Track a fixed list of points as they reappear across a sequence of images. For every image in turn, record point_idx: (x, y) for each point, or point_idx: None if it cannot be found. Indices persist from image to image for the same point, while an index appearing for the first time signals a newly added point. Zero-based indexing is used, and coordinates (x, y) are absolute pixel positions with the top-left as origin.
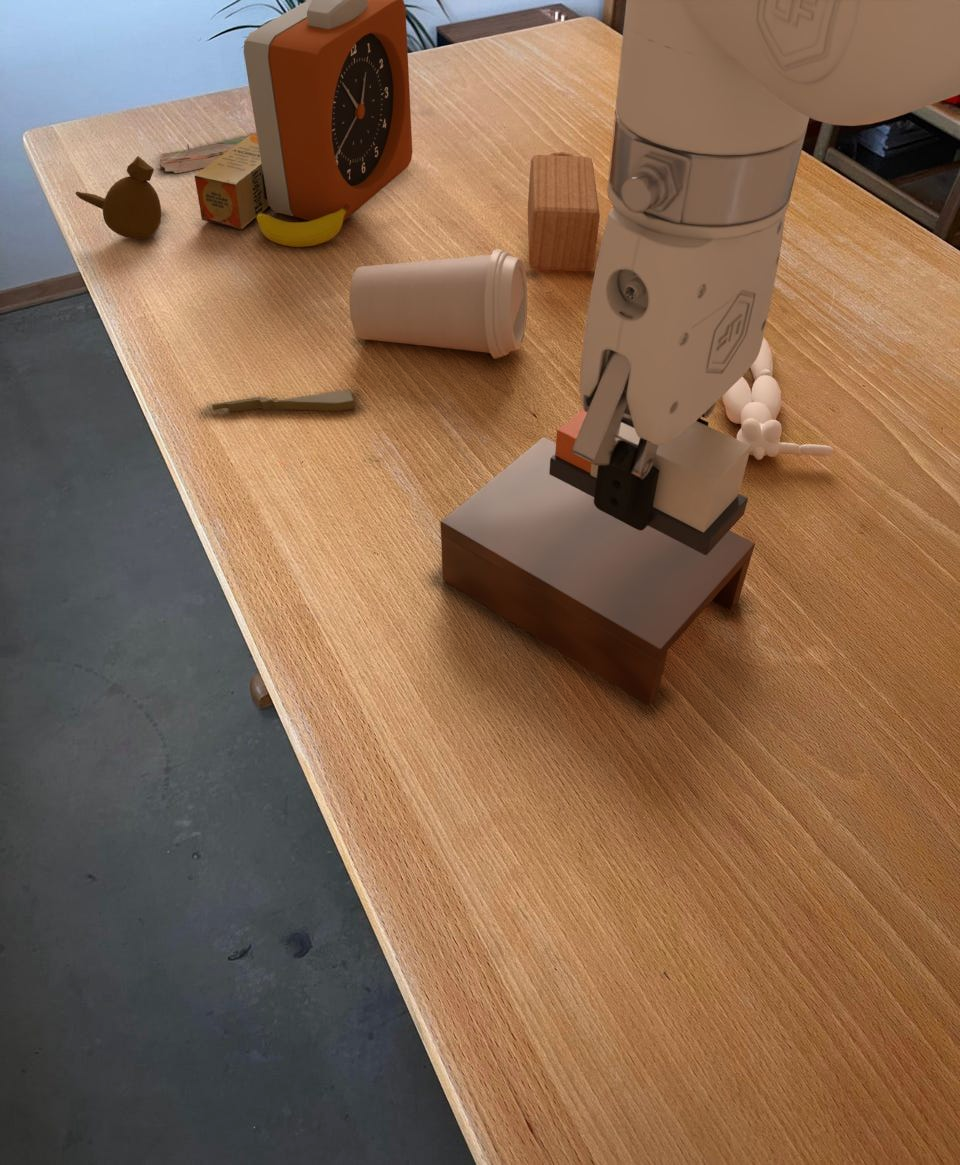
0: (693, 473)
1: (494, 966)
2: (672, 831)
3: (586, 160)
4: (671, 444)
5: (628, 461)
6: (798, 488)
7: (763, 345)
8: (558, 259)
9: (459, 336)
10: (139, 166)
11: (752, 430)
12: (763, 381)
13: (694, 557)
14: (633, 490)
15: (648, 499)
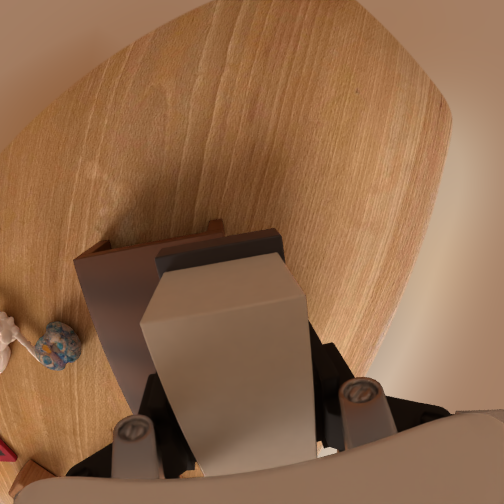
0: (309, 341)
1: (413, 162)
2: (287, 139)
3: (11, 496)
4: (270, 412)
5: (401, 411)
6: (6, 283)
7: None
8: (44, 475)
9: None
10: None
11: (6, 336)
12: None
13: (123, 283)
14: (338, 369)
15: (323, 346)
